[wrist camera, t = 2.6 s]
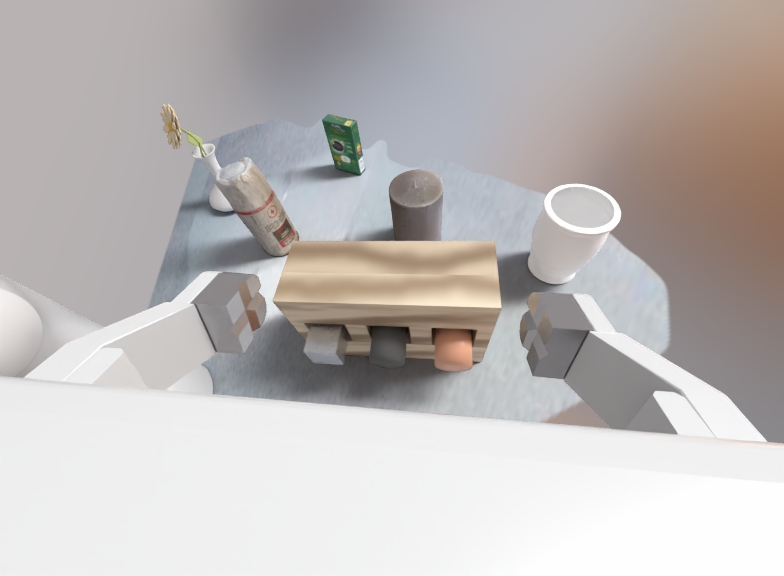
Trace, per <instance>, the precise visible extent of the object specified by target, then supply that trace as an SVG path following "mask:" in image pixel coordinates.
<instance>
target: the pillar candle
mask: <svg viewBox="0 0 784 576" xmlns="http://www.w3.org/2000/svg"><path fill="white" fill-rule="evenodd" d="M443 190H444V189H443V183H442V179H441V178H440V177H439V176H437V175H435V174H433V173H432V172H429V171H425V170H411V171H407V172H404V173H402V174H399V175H398V176H397V177H395V178H394V179H393V181H392V182H391V184H390V187H389V197H390V204H391V211H392V219H393V227H394V235H395V241H441V229H442V204H443Z"/></svg>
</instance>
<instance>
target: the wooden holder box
mask: <svg viewBox="0 0 784 576" xmlns="http://www.w3.org/2000/svg"><path fill="white" fill-rule="evenodd" d="M273 302H274V304H275V305H276V306H277V307H278V308H279V310H280V311H281V312H282V313H283V314H284V315H285V317H286V318H287V319H288V320H289V321H290V323H291V324H292V325H293V326H294V327H295V329H296V330H297V331H298V332H299V333H300V335H301V336H302V337H303V338H304V339H305V340H306V339H307V335H308V331H309V327H310V323H319V324H345V326H346V328H347V330H348V332H349V338H348V344H347V350H346V355H361V356H369V355H370V348H371V341H372V334H373V326H397V327H407V344H406V357H405V358H418V359H435V330H436V328H449V329H471V338H472V361H476V362H482V360H483V357H484V354H485V351H486V349H487V346H488V343H489V341H490V338H491V335H492V332H493V330H494V327H495V324H496V322H497V319H498V316H499V314H500V311H501V308H502V307H501V297H500V287H499V277H498V267H497V257H496V247H495V241H293V242H292V245H291V248H290V251H289V254H288V257H287V260H286V263H285V266H284V269H283V272H282V275H281V278H280V281H279V284H278V287H277V290H276V293H275V296H274V299H273Z"/></svg>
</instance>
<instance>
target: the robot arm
mask: <svg viewBox="0 0 784 576" xmlns="http://www.w3.org/2000/svg"><path fill="white" fill-rule="evenodd" d="M260 287H261V284H260V281H259V278H258V277H257V276H256V275H254V274H243V273H231V272H218V271H205V272H202V273H201V274H200V275H199V276H198V277H197V278H196V279H195V280H194V281H193V282H192V283H191V284H190V285H189V286H188V287H187V288H185V289H184V290H183V291H182V292H181V293H180V294H179V295H178V296H177V297H176V298H175V299H174V300H173V301H172V302H165V303H162V304H160V305H157V306H155V307H153V308H150V309H148V310H145V311H143V312H141V313H138V314H136V315H133V316H131V317H129V318H126V319H124V320H121V321H119V322H116V323H114V324H112V325H109V326H107V327H103V326H101V325H99V324H97V323H95V322H93V321H91V320H89V319H87V318H85V317H83V316H81V315H79V314H77V313H75V312H73V311H71V310H69V309H67V308H65V307H63V306H62V305H60V304H58V303H56V302H54V301H52V300H50V299H48V298H46V297H44V296H42V295H40V294H38V293H36V292H34V291H32V290H31V289H28V288H27V287H25V286H23V285H21V284H19V283H17V282H15V281H13V280H11V279H9V278H7V277H5V276H3V275H1V274H0V576H784V444H782V443H770V442H767V441H766V440H765V439H764V438H763V436H762V435H761V434H760V433H759V432H758V431H757V430H756V429H755V427H754V426H753V425H752V424H751V423H750V422H749V421H748V420H747V418H746V417H745V416H744V415H743V414H742V413H741V412H740V410H739V409H738V408H737V407H736V406H735V405H734V404H733V402H732V401H731V400H730V399H729V398H728V397H727V396H726V395H725V394H723V393H722V392H720V391H718V390H717V389H715V388H713V387H712V386H710V385H708V384H706V383H705V382H703V381H701V380H700V379H698V378H696V377H695V376H693V375H691V374H690V373H688V372H686V371H685V370H683V369H681V368H680V367H678V366H676V365H675V364H673V363H671V362H670V361H668V360H666V359H665V358H663V357H661V356H660V355H658V354H656V353H655V352H653V351H651V350H650V349H648V348H646V347H645V346H643V345H641V344H640V343H638V342H636V341H635V340H633V339H631V338H630V337H628V336H626V335H625V334H623V333H616V331H615V330H614V328H613V327H612V325H611V324H610V322H609V321H608V320H607V318H606V317H605V315H604V314H603V312H602V311H601V310H600V308H599V307H598V305H597V304H596V302H595V301H594V300H593V298H592V297H591V296H590V295H588V294H561V293H541V292H532V293H531V295H530V296H529V298H528V301H527V305H528V308H529V311H528V312H526V313H525V314H524V315H523V316H522V320H521V323H520V339H521V342H522V346H523V347H524V348H526V349H527V350H528V351H529V352H528V355H527V361H528V364H529V367H530V369H531V372H532V375H533V376H537V377H547V378H557V379H564V381H565V382H566V383H567V384H568V385H569V386H570V387H571V388H572V389H573V390H574V391H575V392H576V393H577V394H578V395H579V396H580V397H581V398H582V399H583V400H584V401H585V402H586V403H587V404H588V405H589V406H590V407H591V408H592V409H593V410H594V411H595V412H596V413H597V414H598V415H599V416H600V417H601V418H602V419H603V420H604V421H605V422H606V423H607V424H608V425H609V426H610V427H611V428H612V429H608V428H597V427H585V426H574V425H562V424H550V423H539V422H528V421H516V420H505V419H493V418H482V417H470V416H458V415H447V414H435V413H424V412H412V411H401V410H389V409H378V408H366V407H355V406H343V405H332V404H320V403H308V402H297V401H285V400H273V399H262V398H250V397H238V396H227V395H215V394H213V382H212V378H211V375H210V373H209V371H208V370H207V369H206V368H205V367H204V366H203V365H201V364H202V363H204V362H205V361H206V360H208V359H209V358H211V357H212V356H213V355H215V354H216V352H223V353H243V354H244V353H245V351H246V350H247V348H248V347H249V345H250V343H251V342H252V340H253V338H254V335H253V331H255V330H256V329H258V328H260V327H261V325H262V324H263V322H264V320H265V316H266V302H265V298H264V297H263V296H262V295H261V294H260V293H259V292H258V291H259V289H260Z"/></svg>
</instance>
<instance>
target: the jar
mask: <svg viewBox="0 0 784 576" xmlns="http://www.w3.org/2000/svg"><path fill="white" fill-rule="evenodd" d="M620 218H621V210H620V207H619V205H618V203H617V202H616V201H615V199H614V198H612V197H611V196H610V195H609V194H607V193H606V192H604V191H602V190H600V189H598V188H596V187H592V186H589V185H584V184H567V185H562V186H559V187H557V188H555V189H553V190H552V191H550V192H549V194H548V195H547V196H546V198H545V200H544V204H543V210H542V212H541V213H540V215H539V217H538V219H537V221H536V223H535V226H534V229H533V234H532V242H531V249H530V252H531V254H530V256H529V258H528V267H529V269H530V271H531V273H532V274H533V275H534V276H535V277H537V278H538V279H539V280H541V281H543V282H546V283H550V284H563V283H566V282H568V281H570V280H571V279H572V278H573V277H574V276H575V273H576V272H577V271H579V270H580V269H581V268H583V267H584V266H585V265H586V264H587V263H588V262H589V261H590V260H591V259H592V258H593V257H594V256H595V255H596V254H597V253H598V252H599V250H600V249H601V247H602V246H603V244H604V242H605V240H606V238H607V236H608V234H609V232H610V231H611V230H612V229H614V228H615V226H616V225H617V224H618V222H619V221H620Z"/></svg>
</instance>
